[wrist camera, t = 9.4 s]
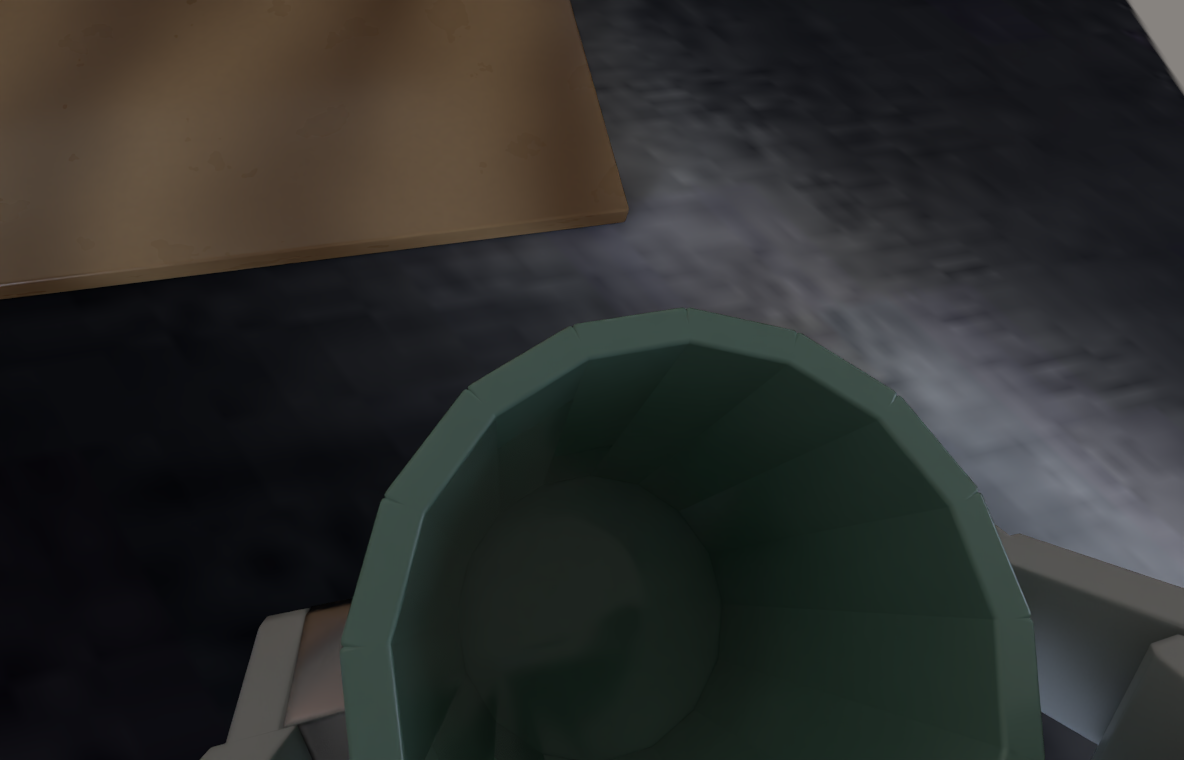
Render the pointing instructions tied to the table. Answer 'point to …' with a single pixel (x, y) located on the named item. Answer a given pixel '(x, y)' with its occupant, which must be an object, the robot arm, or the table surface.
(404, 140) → the wooden board
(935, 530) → the tumbler
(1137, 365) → the table surface
